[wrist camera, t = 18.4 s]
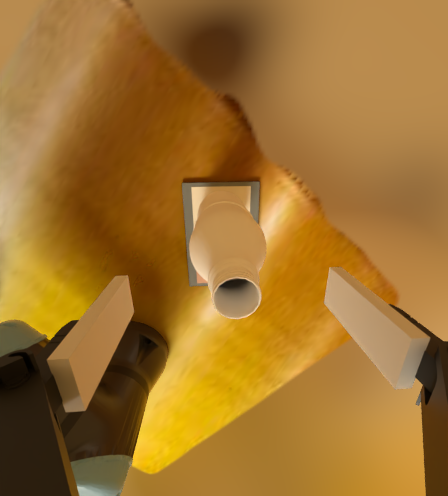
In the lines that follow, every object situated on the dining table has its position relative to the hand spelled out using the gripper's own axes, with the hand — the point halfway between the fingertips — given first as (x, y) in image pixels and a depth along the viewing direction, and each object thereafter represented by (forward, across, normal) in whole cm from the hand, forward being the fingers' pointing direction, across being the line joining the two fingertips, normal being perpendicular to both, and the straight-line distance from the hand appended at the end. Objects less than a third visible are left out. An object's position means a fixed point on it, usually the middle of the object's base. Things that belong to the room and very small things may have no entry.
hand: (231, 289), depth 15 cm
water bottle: (+24, 0, 0) cm, 24 cm away
